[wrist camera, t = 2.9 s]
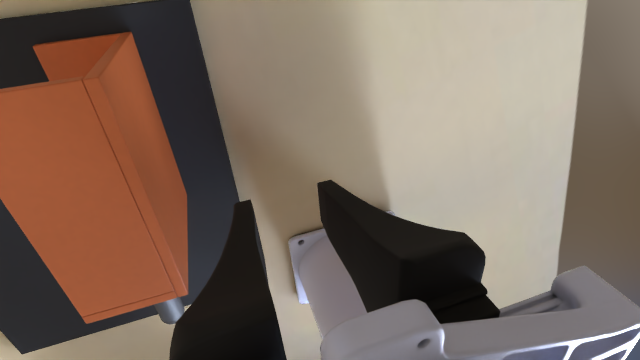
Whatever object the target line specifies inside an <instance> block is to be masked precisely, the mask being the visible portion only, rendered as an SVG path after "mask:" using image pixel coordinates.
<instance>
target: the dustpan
mask: <svg viewBox="0 0 640 360" xmlns="http://www.w3.org/2000/svg"><path fill="white" fill-rule="evenodd" d="M33 49H34V51H35V53H36V55H37V57H38V59H39V61H40V63H41V65H42V67H43V69H44V71H45V73H46V75H47V77H48V79H49V82H42V83H36V84H29V85H23V86H17V87H10V88H4V89H0V199H1V200H2V202H3V203H4V205H5V206H6V208H7V209H8V211H9V212H10V213H11V215H12V216H13V218H14V219H15V221H16V222H17V224H18V225H19V227H20V228H21V229H22V231H23V232H24V234H25V235H26V237H27V238H28V240H29V241H30V243H31V244H32V245H33V247H34V248H35V250H36V251H37V253H38V254H39V256H40V257H41V259H42V260H43V261H44V263H45V264H46V266H47V267H48V269H49V270H50V272H51V273H52V275H53V276H54V277H55V279H56V280H57V282H58V283H59V285H60V286H61V288H62V289H63V291H64V292H65V293H66V295H67V296H68V298H69V299H70V301H71V302H72V304H73V305H74V307H75V308H76V309H77V311H78V312H79V314H80V315H81V316H82V318H83V320H84V321H85V323H86V324H88V323H92V322H95V321H99V320H102V319H106V318H109V317H113V316H116V315H119V314H123V313H126V312H130V311H133V310H137V309H140V308H144V307H147V306H150V305H154V306H155V308H156V310H157V312H158V314H159V316H160V318H161V320H162V321H163V322H164V323H167V324H175V323H176V322H177V320H178V319H179V318H180V317H181V316H182V315H183V314H184V306H183V303H182V301H181V299H180V297H181V296H185V295H188V230H187V193H186V190H185V187H184V184H183V182H182V179H181V176H180V173H179V170H178V167H177V164H176V161H175V158H174V155H173V152H172V149H171V146H170V143H169V141H168V138H167V135H166V132H165V129H164V126H163V123H162V120H161V117H160V114H159V111H158V108H157V105H156V102H155V99H154V97H153V94H152V91H151V88H150V85H149V82H148V79H147V76H146V73H145V70H144V67H143V64H142V61H141V58H140V56H139V53H138V50H137V47H136V44H135V41H134V38H133V35H132V33H131V32H124V33H117V34H109V35H102V36H94V37H87V38H79V39H72V40H64V41H57V42H49V43H42V44H36V45H34V46H33Z"/></svg>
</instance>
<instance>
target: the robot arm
mask: <svg viewBox="0 0 640 360" xmlns="http://www.w3.org/2000/svg"><path fill="white" fill-rule="evenodd" d="M317 186H318V196H319V206H320V216H321V222H322V224H323V227H324V229H320V230H317V231H313V232H309V233H306V234H302V235H298V236H295V237H292V238H291V239H290V240H289V249H290V255H291V261H292V267H293V272H294V278H295V284H296V290H297V296H298V300H299V303H300V304H306V303H309V304H310V307H311V310H312V312H313V315H314V318H315V321H316V323H317V326H318V329H319V332H320V334H321V337H322V343H321V347H320V351H321V360H625V358H626V357H627V355H628V354H629V352H630V351H631V349H632V348H633V347H634V345H635V344H636V342H637V340H638V339H639V338H640V307H638V306H637V305H636V304H634V303H633V302H632V301H630V300H629V299H628V298H626V297H625V296H624V295H623V294H621V293H620V292H619V291H618V290H616V289H615V288H614V287H612V286H611V285H610V284H608V283H607V282H606V281H605V280H603V279H602V278H601V277H599V276H598V275H597V274H595V273H594V272H593V271H591V270H590V269H589V268H588V267H586V266H581V267H578V268H575V269H572V270H569V271H567V272H564V273H562V274H560V275H558V276H557V277H556V278H555V279H554V281H553V283H552V286H551V291H548V292H545V293H542V294H540V295H537V296H534V297H531V298H529V299H526V300H523V301H521V302H518V303H515V304H512V305H510V306H507V307H504V308H501V309H498V308H497V307H496V306H495V305H494V304H493V303H492V301H491V300H490V299H489V298H488V297H487V296H486V294H487V289H486V288H485V287H484V286H483V285H482V284H481V279H482V274H483V270H484V266H485V254H484V251H483V250H482V249H481V248H480V247H479V246H478V245H477V244H476V243H475V242H474V241H473V240H472V239H471V238H470V237H469V236H468V235H466V234H465V233H463V232H456V231H449V230H443V229H438V228H433V227H429V226H425V225H421V224H417V223H414V222H411V221H407V220H404V219H402V218H399V217H396V216H395V214H394V213H393V212H392V211H386V212H384V211H382V210H380V209H378V208H376V207H374V206H372V205H370V204H368V203H367V202H365V201H363V200H361V199H360V198H358V197H356V196H355V195H353V194H352V193H350V192H348V191H347V190H345V189H344V188H342V187H341V186H339V185H338V184H336V183H335V182H333V181H332V180H327V181H323V182H319V183H317ZM233 207H234V211H233V219H232V224H231V228H230V231H229V235H228V238H227V241H226V244H225V247H224V250H223V252H222V255H221V257H220V259H219V261H218V263H217V266H216V268H215V269H214V271H213V273H212V275H211V277H210V278H209V280H208V282H207V283H206V285H205V287H204V288H203V289H202V291H201V292H200V294H199V295H198V296H197V298H196V299H195V301H194V302H193V303H192V305H191V306H190V307H189V308H188V309H187V310H186V311H185V313H184V314H183V315H182V316H181V317H180V318H179V319H178V320H177V322H176V325H175V328H174V332H173V337H172V341H171V347H170V360H287V359H286V355H285V350H284V346H283V342H282V337H281V333H280V328H279V324H278V320H277V315H276V311H275V308H274V304H273V300H272V297H271V293H270V290H269V286H268V279H267V272H266V266H265V259H264V254H263V250H262V245H261V241H260V236H259V232H258V227H257V223H256V219H255V214H254V210H253V206H252V203H251V200H246V201H242V202H238V203H235V205H234V206H233ZM300 240H302V241H301V242H299V241H300Z"/></svg>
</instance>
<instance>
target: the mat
mask: <svg viewBox="0 0 640 360" xmlns="http://www.w3.org/2000/svg"><path fill="white" fill-rule="evenodd" d="M124 32H131V33H132V35H133V38H134V41H135V44H136V47H137V50H138V53H139V56H140V58H141V61H142V64H143V67H144V70H145V73H146V76H147V79H148V82H149V85H150V88H151V91H152V94H153V97H154V99H155V102H156V105H157V108H158V111H159V114H160V117H161V120H162V123H163V126H164V129H165V132H166V135H167V138H168V141H169V143H170V146H171V149H172V152H173V155H174V158H175V161H176V164H177V167H178V170H179V173H180V176H181V179H182V182H183V184H184V187H185V190H186V193H187V230H188V295H185V296H181V297H180V299H181V301H182V303H183V306H187V305H190V304H192V303H193V302H194V301H195V299H196V298H197V296H198V295H199V294H200V292H201V291H202V289H203V288H204V287H205V285H206V283H207V282H208V280H209V278H210V277H211V275H212V273H213V271H214V269H215V268H216V266H217V263H218V261H219V259H220V257H221V255H222V252H223V250H224V247H225V244H226V241H227V238H228V235H229V231H230V228H231V224H232V219H233V211H234V207H233V206H234V205H235V203H238V202H240V201H239V197H238V193H237V189H236V185H235V181H234V177H233V173H232V169H231V165H230V161H229V157H228V153H227V149H226V145H225V141H224V137H223V133H222V129H221V125H220V121H219V117H218V113H217V109H216V105H215V101H214V97H213V93H212V89H211V85H210V81H209V77H208V73H207V69H206V65H205V60H204V56H203V52H202V48H201V44H200V40H199V36H198V32H197V28H196V24H195V20H194V16H193V12H192V8H191V4H190V0H156V1H148V2H139V3H131V4H123V5H114V6H106V7H97V8H89V9H80V10H72V11H63V12H55V13H46V14H38V15H29V16H21V17H12V18H4V19H0V89H4V88H10V87H17V86H23V85H29V84H36V83H42V82H49V79H48V77H47V75H46V73H45V71H44V69H43V67H42V65H41V63H40V61H39V59H38V57H37V55H36V53H35V51H34V49H33V46H34V45H36V44H42V43H49V42H57V41H64V40H72V39H79V38H87V37H94V36H102V35H109V34H117V33H124ZM157 314H158V312H157V310H156V308H155V306H154V305H150V306H147V307H144V308H140V309H137V310H133V311H130V312H126V313H123V314H119V315H116V316H113V317H109V318H106V319H102V320H99V321H95V322H92V323H88V324H86V323H85V321H84V320H83V318H82V316H81V315H80V314H79V312H78V311H77V309H76V308H75V307H74V305H73V304H72V302H71V301H70V299H69V298H68V296H67V295H66V293H65V292H64V291H63V289H62V288H61V286H60V285H59V283H58V282H57V280H56V279H55V277H54V276H53V275H52V273H51V272H50V270H49V269H48V267H47V266H46V264H45V263H44V261H43V260H42V259H41V257H40V256H39V254H38V253H37V251H36V250H35V248H34V247H33V245H32V244H31V243H30V241H29V240H28V238H27V237H26V235H25V234H24V232H23V231H22V229H21V228H20V227H19V225H18V224H17V222H16V221H15V219H14V218H13V216H12V215H11V213H10V212H9V211H8V209H7V208H6V206H5V205H4V203H3V202H2V200H1V199H0V331H1V332H2V333H3V334H4V335H5V336H6V337H7V338H8V339H9V341H10V342H11V343H12V344H13V345H14V346H15V347H16V348H17V349H18V350H19V352H20V353H21V354H25V353H28V352H32V351H35V350H38V349H42V348H45V347H49V346H52V345H55V344H59V343H62V342H65V341H69V340H72V339H76V338H79V337H82V336H86V335H89V334H92V333H96V332H99V331H103V330H106V329H109V328H113V327H116V326H119V325H123V324H126V323H130V322H133V321H136V320H140V319H143V318H146V317H150V316H153V315H157Z"/></svg>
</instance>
